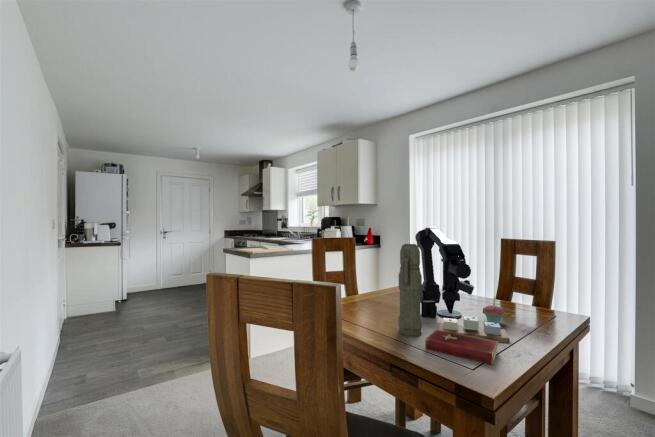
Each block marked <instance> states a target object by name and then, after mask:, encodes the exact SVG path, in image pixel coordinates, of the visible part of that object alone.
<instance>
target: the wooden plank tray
mask: <svg viewBox="0 0 655 437" xmlns="http://www.w3.org/2000/svg"><path fill="white" fill-rule="evenodd" d="M436 330H441V331H446V332H451V333H456V334H461V335H466V336H472V337H477V338H482V339H487V340H492V341H497V342H499V343H500V342H501V343H510V340H511V339H510V337H509V334H508V333H507V332H506V329H503V328H502V329H501V335H494V334H486V333H485V330H484V326H483V327H482V326H480V327H479V329H473V328H464V324H457V330H448V329H444V322H437V324H436Z"/></svg>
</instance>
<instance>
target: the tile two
mask: <svg viewBox="0 0 655 437" xmlns="http://www.w3.org/2000/svg"><path fill="white" fill-rule="evenodd" d="M462 325H464V328H473V329H479V325H480V324H479V319H478V317H477V316H476V317H475V316H466V315H465V316H464V315H463V324H462Z"/></svg>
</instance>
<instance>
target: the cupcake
mask: <svg viewBox="0 0 655 437" xmlns="http://www.w3.org/2000/svg"><path fill="white" fill-rule="evenodd" d="M492 300H493V305H491V304H490V305H486V306H485V307H483V308H482V314H484V315H485V318H486V320H487V321H486V322H492V323H499V324H500V323H501V320H502V319H503V317H504V316H505V310H504V309H502V308H501V307H500V306H496V296H495V295H494V297H493V299H492Z"/></svg>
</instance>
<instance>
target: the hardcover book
mask: <svg viewBox="0 0 655 437" xmlns="http://www.w3.org/2000/svg"><path fill="white" fill-rule="evenodd" d="M424 343H425V345H424V347H425V348H424V349H425V350H427V351H432V352H436V353H441V354H444V355H449V356H453V357H456V358H457V357H458V358H461V359H466V360H468V361H469V360H470V361H474V362H478V363H482V364H486V365H491V366H494V362H495V358H496V356H497V355H498V345H499V344H500V342H499V341H492V340H487V339H482V338H477V337H472V336H466V335H461V334H456V333H451V332H446V331H441V330H437V329H434V330H433V331H432V332H431V333H430V334H429V335H428V336H427V337H426V338H425V341H424Z"/></svg>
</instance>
